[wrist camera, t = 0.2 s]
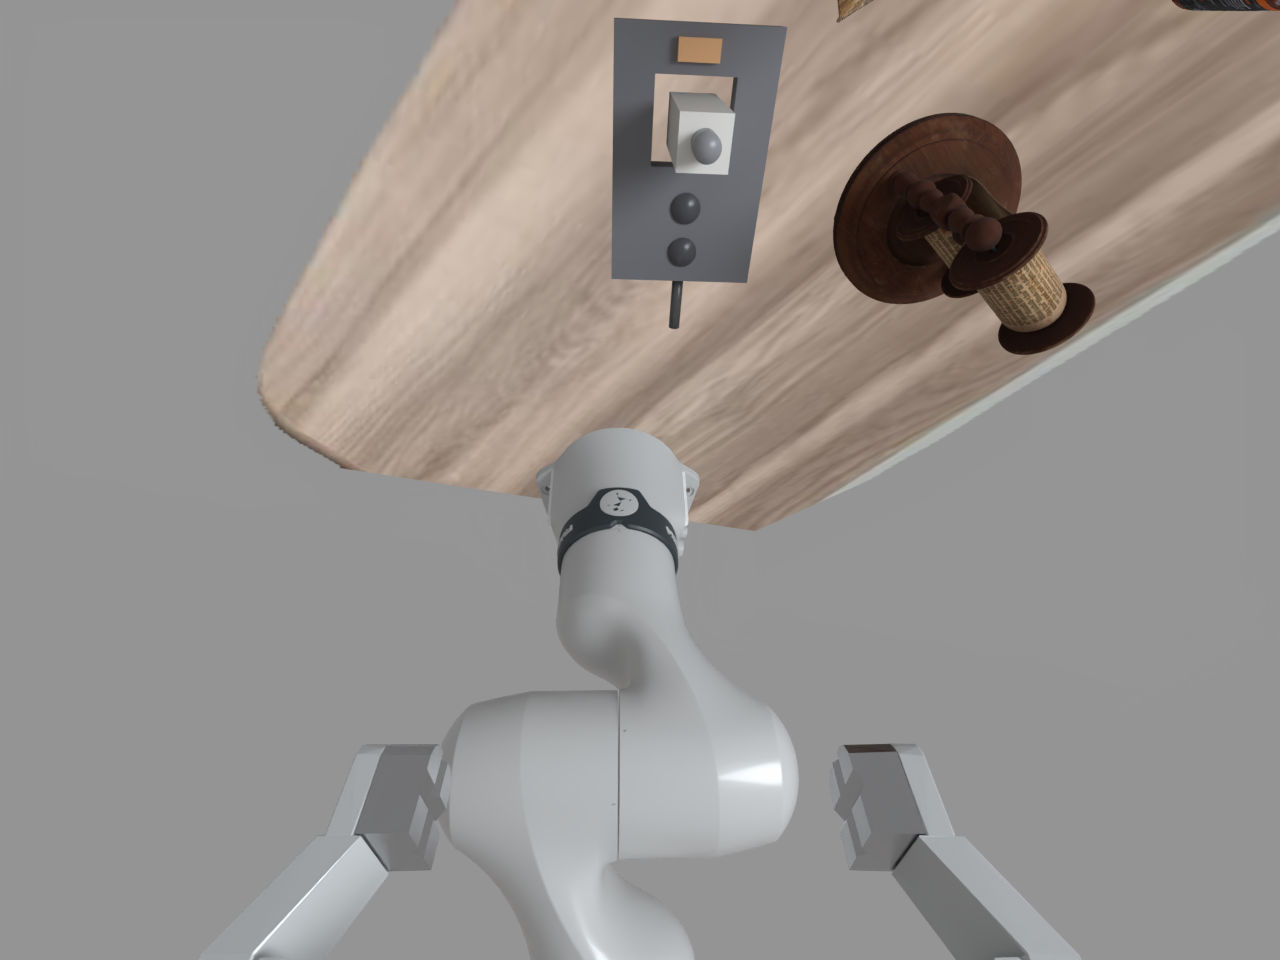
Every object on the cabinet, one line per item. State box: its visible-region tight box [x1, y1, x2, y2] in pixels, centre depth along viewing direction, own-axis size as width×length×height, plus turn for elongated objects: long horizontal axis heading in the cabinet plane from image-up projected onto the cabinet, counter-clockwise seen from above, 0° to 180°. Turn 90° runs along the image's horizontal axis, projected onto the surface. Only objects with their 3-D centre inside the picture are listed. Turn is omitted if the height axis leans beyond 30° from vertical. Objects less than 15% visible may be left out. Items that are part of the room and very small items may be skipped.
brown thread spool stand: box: [833, 113, 1096, 355], centre depth 43 cm, size 15×15×20 cm
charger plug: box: [666, 92, 735, 175], centre depth 41 cm, size 4×4×12 cm
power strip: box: [611, 18, 787, 329], centre depth 48 cm, size 23×12×3 cm, turn 178°
